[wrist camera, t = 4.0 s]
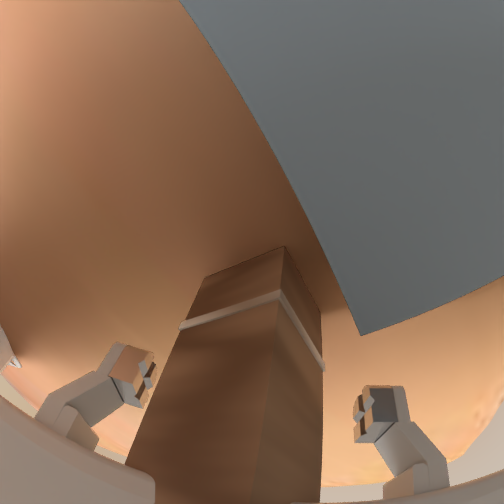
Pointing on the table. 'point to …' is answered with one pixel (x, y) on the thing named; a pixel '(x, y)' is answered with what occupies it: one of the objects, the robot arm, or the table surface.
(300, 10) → the socket board
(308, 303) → the walnut peg
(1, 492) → the robot arm
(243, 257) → the table surface
